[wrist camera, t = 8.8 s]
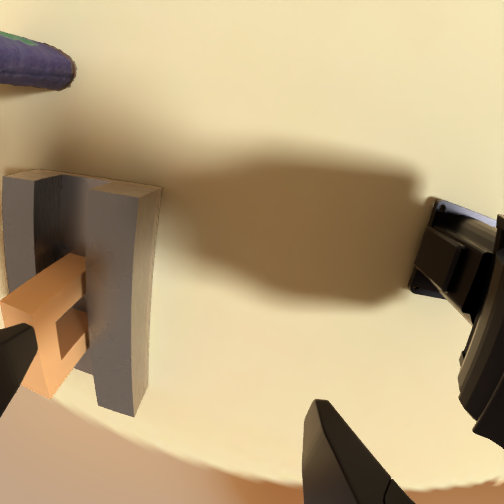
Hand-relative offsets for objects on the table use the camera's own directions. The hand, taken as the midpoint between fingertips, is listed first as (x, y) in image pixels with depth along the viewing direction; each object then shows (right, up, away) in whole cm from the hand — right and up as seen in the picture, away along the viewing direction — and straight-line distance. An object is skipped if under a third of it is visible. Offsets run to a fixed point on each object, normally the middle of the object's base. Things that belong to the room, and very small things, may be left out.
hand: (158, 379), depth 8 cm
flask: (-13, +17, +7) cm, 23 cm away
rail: (-9, +1, +13) cm, 16 cm away
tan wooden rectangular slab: (-9, +1, +12) cm, 15 cm away
